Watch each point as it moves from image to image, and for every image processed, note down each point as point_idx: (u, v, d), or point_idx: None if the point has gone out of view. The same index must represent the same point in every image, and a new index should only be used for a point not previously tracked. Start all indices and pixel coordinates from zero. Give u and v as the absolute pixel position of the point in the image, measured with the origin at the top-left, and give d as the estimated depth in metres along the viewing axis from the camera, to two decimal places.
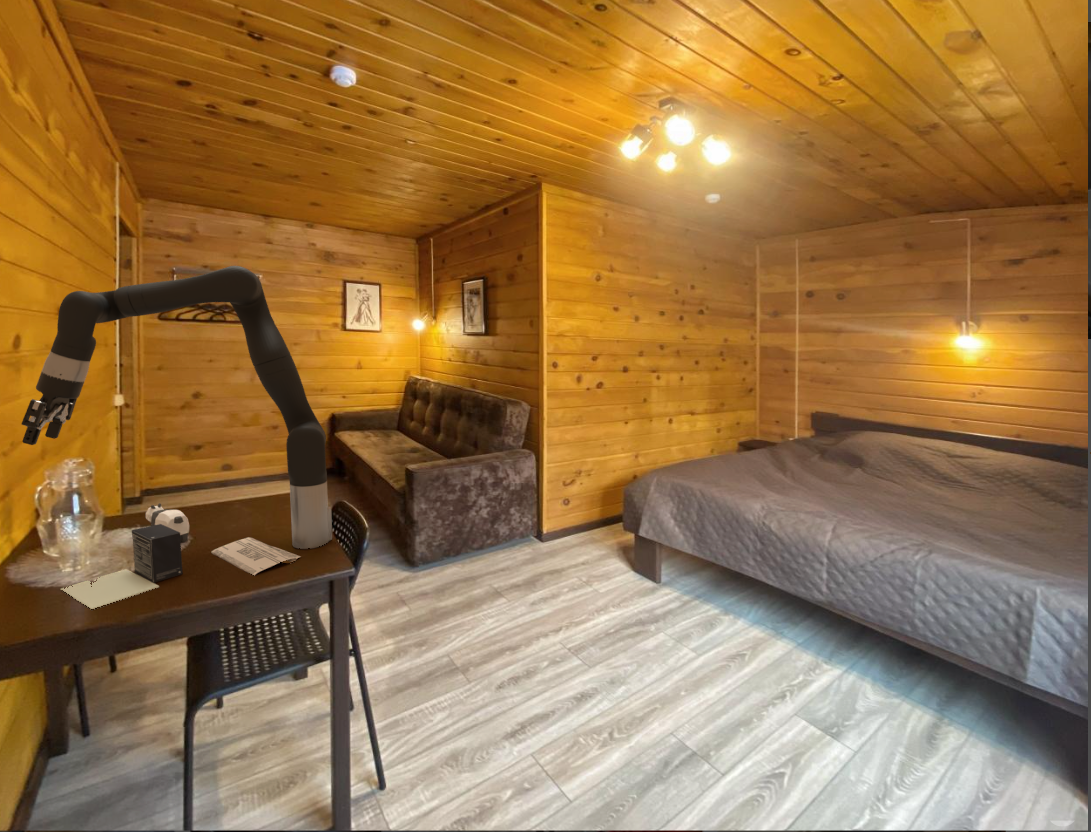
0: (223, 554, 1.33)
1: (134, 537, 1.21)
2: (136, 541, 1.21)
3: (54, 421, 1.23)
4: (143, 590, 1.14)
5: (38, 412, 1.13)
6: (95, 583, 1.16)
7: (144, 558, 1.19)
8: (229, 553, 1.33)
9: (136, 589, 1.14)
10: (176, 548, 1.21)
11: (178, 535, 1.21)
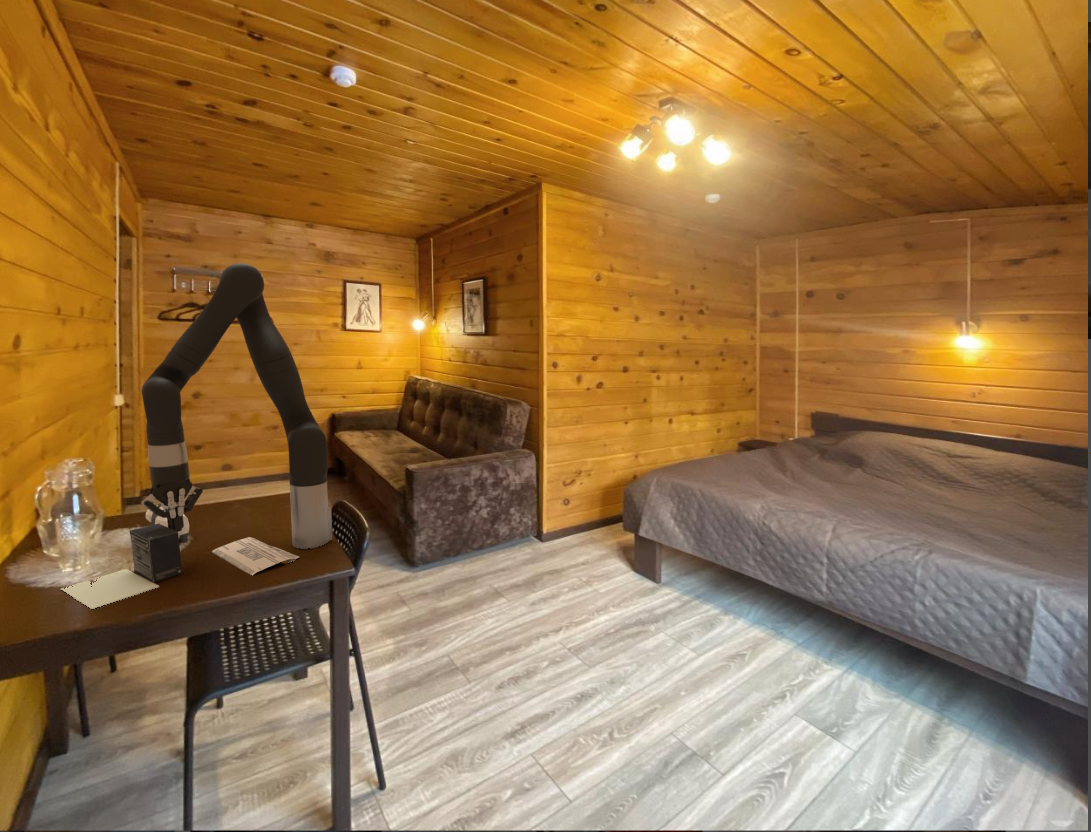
0: (223, 554, 1.33)
1: (132, 537, 1.21)
2: (135, 542, 1.21)
3: None
4: (143, 590, 1.14)
5: (151, 509, 1.20)
6: (95, 583, 1.16)
7: (143, 558, 1.19)
8: (229, 553, 1.33)
9: (136, 589, 1.14)
10: (175, 547, 1.21)
11: (176, 535, 1.21)
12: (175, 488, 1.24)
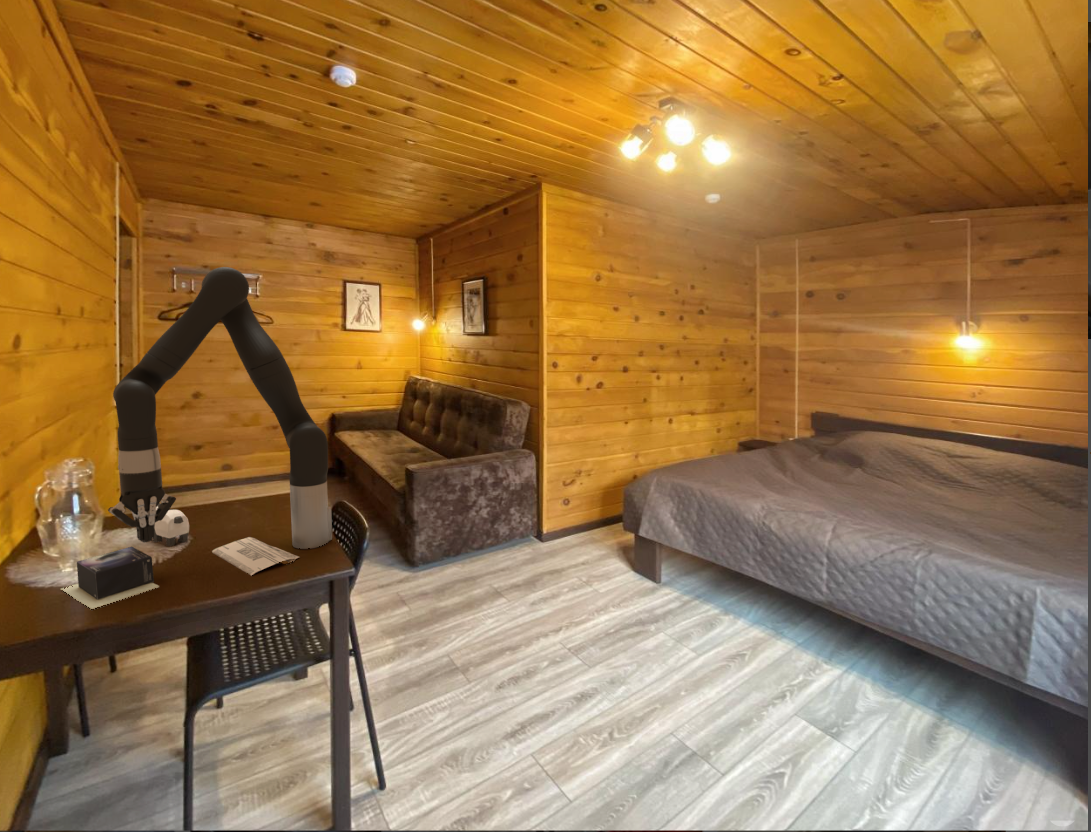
0: (223, 554, 1.33)
1: None
2: None
3: None
4: (143, 590, 1.14)
5: (119, 518, 1.15)
6: None
7: None
8: (229, 553, 1.33)
9: (136, 589, 1.14)
10: (115, 571, 1.11)
11: (98, 574, 1.09)
12: (146, 496, 1.18)
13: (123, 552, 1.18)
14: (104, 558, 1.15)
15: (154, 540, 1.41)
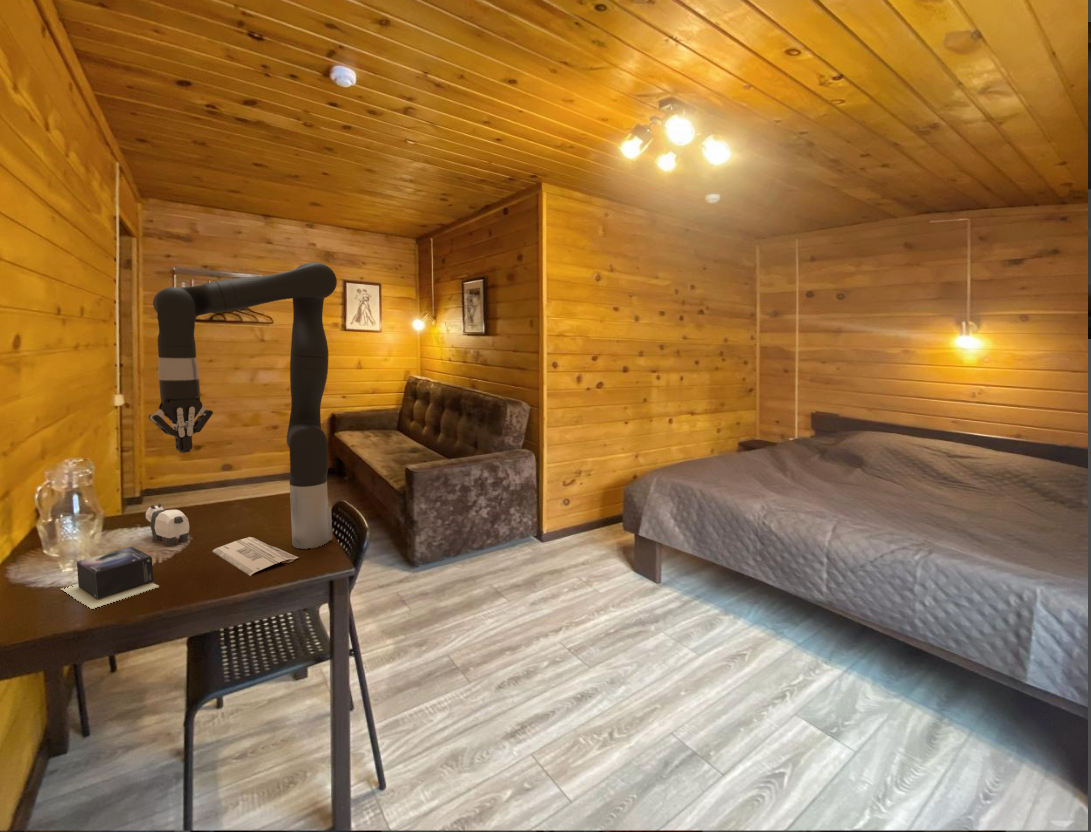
0: (223, 554, 1.33)
1: None
2: None
3: None
4: (143, 590, 1.14)
5: (159, 425, 1.15)
6: None
7: None
8: (229, 553, 1.33)
9: (136, 589, 1.14)
10: (115, 571, 1.11)
11: (98, 574, 1.09)
12: (185, 406, 1.19)
13: (123, 552, 1.18)
14: (104, 558, 1.15)
15: (154, 540, 1.41)
